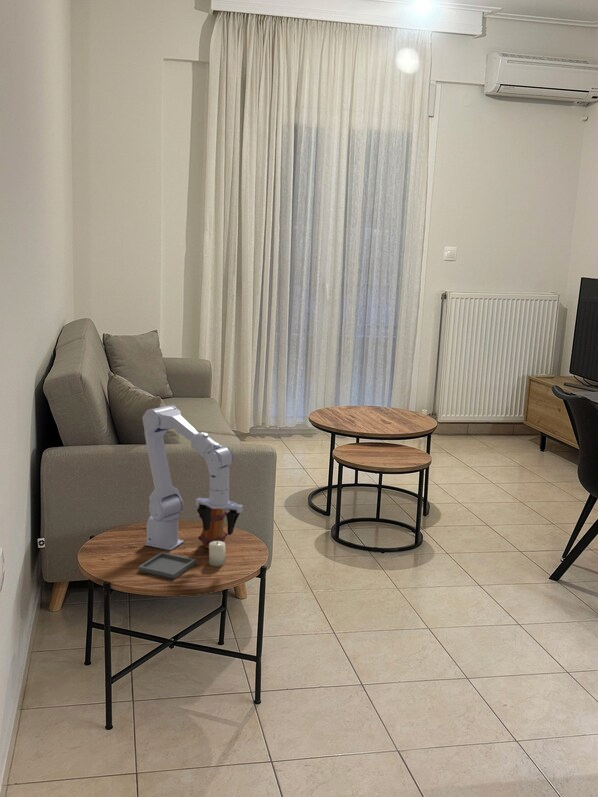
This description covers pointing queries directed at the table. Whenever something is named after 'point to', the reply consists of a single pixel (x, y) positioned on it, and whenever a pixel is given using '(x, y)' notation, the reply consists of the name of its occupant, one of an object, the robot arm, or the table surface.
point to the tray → (167, 565)
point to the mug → (214, 528)
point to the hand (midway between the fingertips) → (218, 531)
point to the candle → (217, 553)
